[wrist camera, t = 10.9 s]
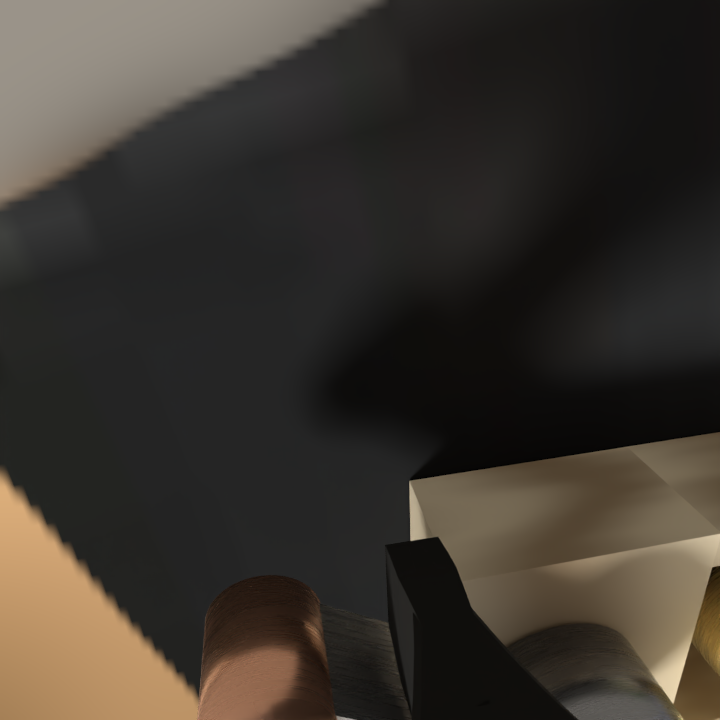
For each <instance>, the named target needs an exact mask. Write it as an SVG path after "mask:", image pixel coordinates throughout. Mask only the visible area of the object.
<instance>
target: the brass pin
mask: <svg viewBox="0 0 720 720" xmlns="http://www.w3.org/2000/svg"><path fill="white" fill-rule="evenodd" d="M691 643H692V644H693V645H694V647H695V648H696V649H697V650H698V651H699V653H700V654H701V655H702V656H703V658H704V659H705V660H706V661H707V662H708V664H709V665H710V666H711V667H712V669H713V670H714V671H715V672H716V674H717V675H718V676H719V677H720V566H716V567H712V570H711V573H710V577H709V580H708V584H707V587H706V591H705V594H704V598H703V601H702V605H701V609H700V612H699V616H698V619H697V623H696V626H695V630H694V633H693V637H692V640H691Z"/></svg>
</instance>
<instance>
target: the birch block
mask: <svg viewBox="0 0 720 720" xmlns="http://www.w3.org/2000/svg"><path fill="white" fill-rule="evenodd" d="M409 485H410V537H411V541H414V540H420V539H426V538H432V537H439V539H440V540H441V542H442V543H443V545H444V547H445V548H446V550H447V551H448V553H449V555H450V557H451V558H452V560H453V562H454V564H455V565H456V567H457V570H458V573H459V575H460V578H461V581H462V583H463V586H464V589H465V591H466V594H467V597H468V599H469V602H470V605H471V607H472V609H473V610H474V611H475V612H476V613H477V615H478V616H479V617H480V618H481V619H482V620H483V621H484V623H485V624H486V625H487V626H488V627H489V628H490V630H491V631H492V632H493V633H494V634H495V635H496V636H497V638H498V639H499V640H500V641H501V642H502V643H503V644H504V645H505V646H506V648H508V647H509V646H511V645H513V644H514V643H516V642H518V641H520V640H522V639H524V638H526V637H528V636H530V635H532V634H535V633H537V632H540V631H543V630H546V629H549V628H553V627H557V626H562V625H568V624H597V625H602V626H606V627H609V628H611V629H614V630H616V631H617V632H619V633H621V634H622V635H623V636H624V637H625V638H626V639H627V640H628V641H629V642H630V644H631V645H632V646H633V648H634V649H635V651H636V652H637V653H638V655H639V656H640V658H641V659H642V661H643V662H644V663H645V665H646V666H647V668H648V669H649V670H650V672H651V673H652V675H653V676H654V678H655V679H656V680H657V682H658V683H659V685H660V686H661V687H662V689H663V690H664V692H665V693H666V695H667V696H668V697H669V699H670V700H671V702H672V703H673V705H674V706H675V707H676V709H677V710H678V712H679V713H680V714H681V716H682V717H683V719H684V720H720V677H719V676H718V675H717V674H716V672H715V671H714V670H713V669H712V667H711V666H710V665H709V664H708V662H707V661H706V660H705V659H704V658H703V656H702V655H701V654H700V653H699V651H698V650H697V649H696V648H695V647H694V645H693V644H692V643H691V640H692V637H693V633H694V630H695V626H696V623H697V619H698V616H699V612H700V609H701V605H702V601H703V598H704V594H705V591H706V587H707V584H708V580H709V577H710V573H711V570H712V567H716V566H720V432H717V433H711V434H705V435H698V436H692V437H686V438H679V439H673V440H666V441H660V442H654V443H647V444H641V445H635V446H628V447H622V448H615V449H609V450H603V451H596V452H590V453H584V454H577V455H571V456H564V457H558V458H552V459H545V460H539V461H533V462H526V463H520V464H514V465H507V466H501V467H494V468H488V469H482V470H475V471H469V472H463V473H456V474H450V475H443V476H437V477H431V478H424V479H418V480H412V481H409Z"/></svg>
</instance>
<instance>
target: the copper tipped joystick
mask: <svg viewBox="0 0 720 720" xmlns="http://www.w3.org/2000/svg"><path fill="white" fill-rule="evenodd" d="M507 649H508V650H509V651H510V652H511V653H512V654H513V655H514V656H515V657H516V658H517V659H518V660H519V662H520V663H521V664H522V665H523V666H524V667H525V668H526V669H527V670H528V671H529V672H530V673H531V674H532V675H533V676H534V677H535V678H536V679H537V680H538V681H539V682H540V683H541V684H542V685H543V686H544V687H545V688H546V689H547V690H548V691H549V692H550V693H551V694H552V695H553V696H554V697H555V698H556V699H557V700H558V701H559V702H560V703H561V704H562V705H563V706H564V707H565V708H566V709H567V710H569V711H570V712H571V713H572V714H573V715H574V716H575V717H576V718H577V719H578V720H684V719H683V717H682V716H681V714H680V713H679V712H678V710H677V709H676V707H675V706H674V705H673V703H672V702H671V700H670V699H669V697H668V696H667V695H666V693H665V692H664V690H663V689H662V687H661V686H660V685H659V683H658V682H657V680H656V679H655V678H654V676H653V675H652V673H651V672H650V670H649V669H648V668H647V666H646V665H645V663H644V662H643V661H642V659H641V658H640V656H639V655H638V653H637V652H636V651H635V649H634V648H633V646H632V645H631V644H630V642H629V641H628V640H627V639H626V638H625V637H624V636H623V635H622V634H621V633H619V632H617V631H616V630H614V629H611V628H609V627H606V626H602V625H597V624H568V625H562V626H557V627H553V628H549V629H546V630H543V631H540V632H537V633H535V634H532V635H530V636H528V637H526V638H524V639H522V640H520V641H518V642H516V643H514V644H513V645H511V646H509V647H508V648H507ZM197 720H412V717H411V714H410V710H409V707H408V704H407V701H406V698H405V694H404V691H403V688H402V685H401V681H400V676H399V672H398V667H397V662H396V658H395V653H394V648H393V643H392V639H391V634H390V629H389V623H387V622H383V621H380V620H376V619H373V618H369V617H366V616H362V615H359V614H355V613H351V612H348V611H344V610H341V609H337V608H334V607H330V606H327V605H323V604H320V601H319V599H318V597H317V595H316V594H315V593H314V591H313V590H312V589H311V588H310V587H308V586H307V585H305V584H304V583H302V582H300V581H298V580H295V579H293V578H289V577H285V576H277V575H266V576H258V577H252V578H249V579H245V580H243V581H240V582H238V583H236V584H234V585H232V586H230V587H229V588H227V589H225V590H224V591H223V592H222V593H220V594H219V595H218V596H217V597H216V599H215V600H214V601H213V602H212V604H211V605H210V607H209V609H208V612H207V615H206V621H205V632H204V645H203V657H202V669H201V681H200V693H199V706H198V719H197Z"/></svg>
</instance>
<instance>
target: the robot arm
mask: <svg viewBox="0 0 720 720" xmlns="http://www.w3.org/2000/svg"><path fill="white" fill-rule="evenodd" d="M385 552H386V575H387V598H388V621H389V629H390V634H391V639H392V643H393V648H394V653H395V658H396V662H397V667H398V672H399V676H400V681H401V685H402V688H403V691H404V694H405V698H406V701H407V704H408V707H409V710H410V714H411V717H412V720H578V719H577V718H576V717H575V716H574V715H573V714H572V713H571V712H570V711H569V710H567V709H566V708H565V707H564V706H563V705H562V704H561V703H560V702H559V701H558V700H557V699H556V698H555V697H554V696H553V695H552V694H551V693H550V692H549V691H548V690H547V689H546V688H545V687H544V686H543V685H542V684H541V683H540V682H539V681H538V680H537V679H536V678H535V677H534V676H533V675H532V674H531V673H530V672H529V671H528V670H527V669H526V668H525V667H524V666H523V665H522V664H521V663H520V662H519V660H518V659H517V658H516V657H515V656H514V655H513V654H512V653H511V652H510V651H509V650H508V649H507V648H506V646H505V645H504V644H503V643H502V642H501V641H500V640H499V639H498V638H497V636H496V635H495V634H494V633H493V632H492V631H491V630H490V628H489V627H488V626H487V625H486V624H485V623H484V621H483V620H482V619H481V618H480V617H479V616H478V615H477V613H476V612H475V611H474V610H473V609H472V607H471V605H470V602H469V599H468V597H467V594H466V591H465V589H464V586H463V583H462V581H461V578H460V575H459V573H458V570H457V567H456V565H455V564H454V562H453V560H452V558H451V557H450V555H449V553H448V551H447V550H446V548H445V547H444V545H443V543H442V542H441V540H440V539H439V537H432V538H426V539H420V540H414V541H407V542H401V543H395V544H389V545H385Z"/></svg>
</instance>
